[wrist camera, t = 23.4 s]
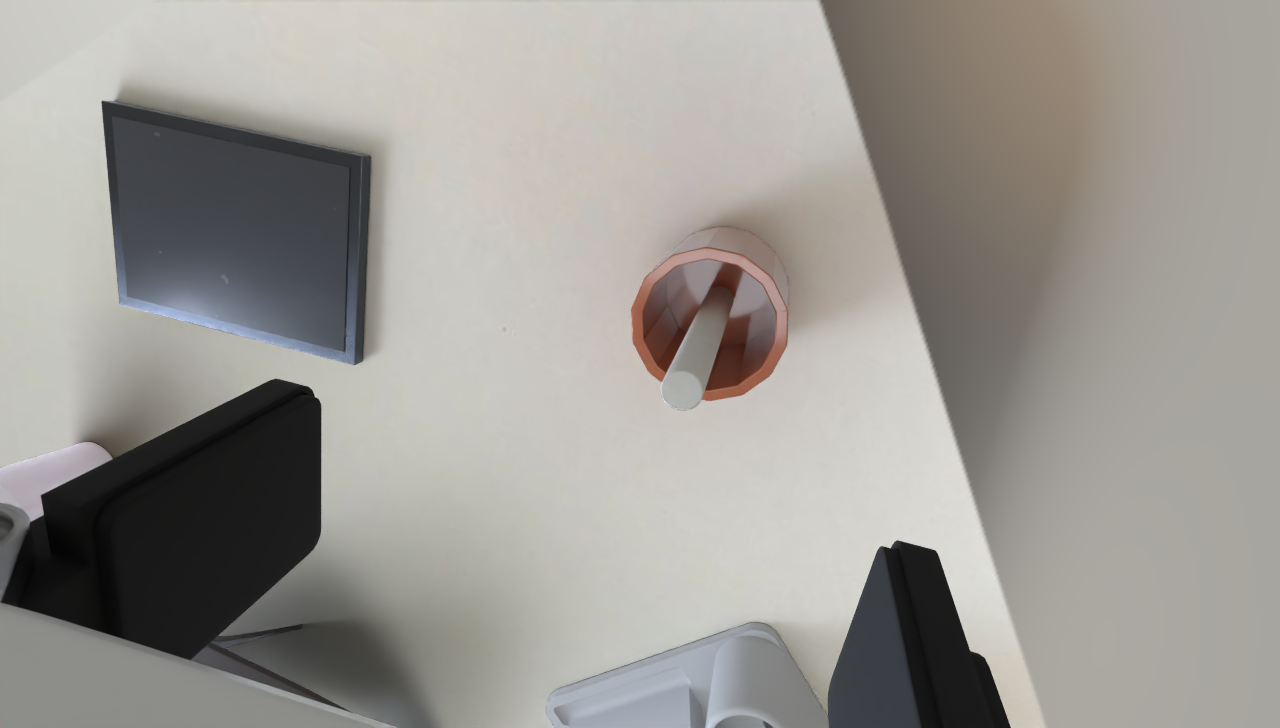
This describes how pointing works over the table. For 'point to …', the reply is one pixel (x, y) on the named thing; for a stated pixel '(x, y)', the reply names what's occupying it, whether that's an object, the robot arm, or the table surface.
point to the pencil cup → (753, 317)
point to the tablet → (239, 229)
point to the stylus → (697, 352)
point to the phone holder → (697, 688)
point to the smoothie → (47, 475)
